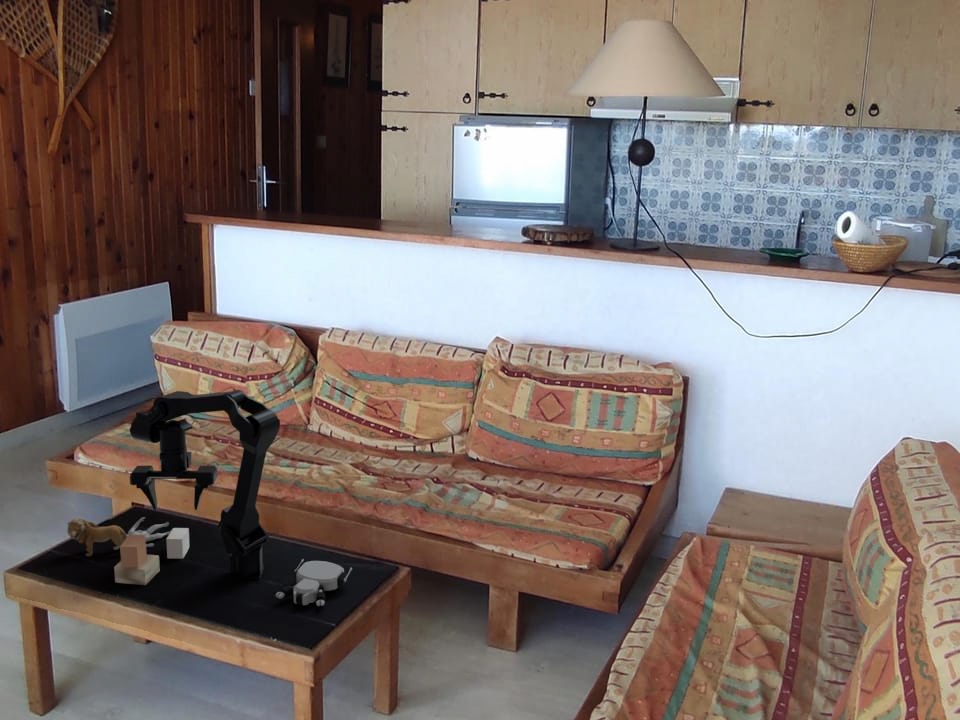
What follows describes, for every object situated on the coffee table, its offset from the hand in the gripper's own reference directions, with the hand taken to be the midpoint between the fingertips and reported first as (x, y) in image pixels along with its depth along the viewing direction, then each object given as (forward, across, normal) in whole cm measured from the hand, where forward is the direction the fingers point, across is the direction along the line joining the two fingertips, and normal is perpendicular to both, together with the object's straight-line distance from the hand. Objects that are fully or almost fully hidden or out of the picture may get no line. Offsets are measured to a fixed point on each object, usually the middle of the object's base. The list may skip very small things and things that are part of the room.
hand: (176, 509), depth 216 cm
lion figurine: (+11, +18, 0) cm, 21 cm away
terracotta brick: (+7, +7, +12) cm, 15 cm away
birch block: (+11, +6, +12) cm, 17 cm away
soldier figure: (+11, +9, -6) cm, 16 cm away
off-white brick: (+11, 0, 0) cm, 11 cm away
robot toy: (+11, -33, +20) cm, 41 cm away
